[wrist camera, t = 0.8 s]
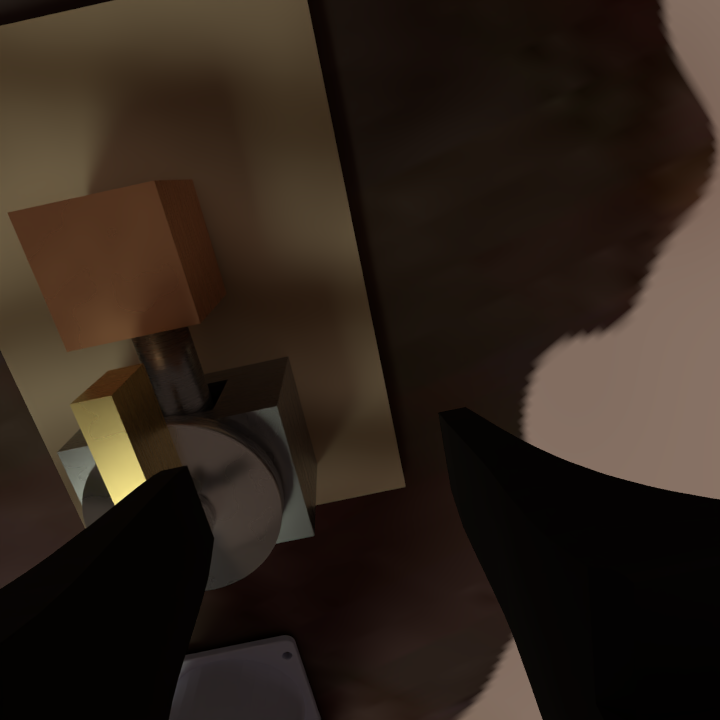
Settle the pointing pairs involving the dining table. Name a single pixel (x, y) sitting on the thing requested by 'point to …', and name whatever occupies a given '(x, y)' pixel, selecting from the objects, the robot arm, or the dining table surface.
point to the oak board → (217, 201)
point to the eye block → (261, 424)
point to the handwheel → (175, 449)
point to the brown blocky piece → (130, 278)
